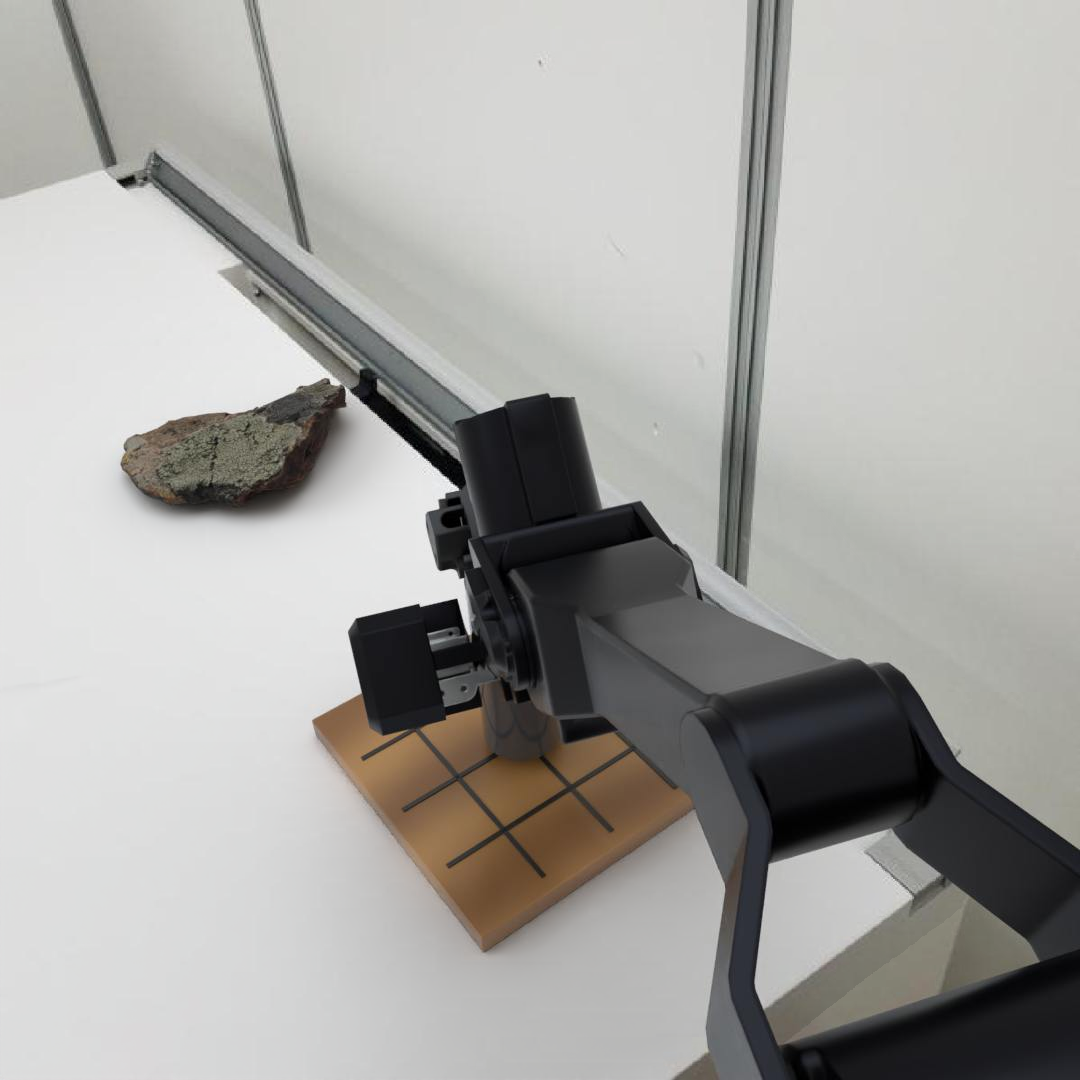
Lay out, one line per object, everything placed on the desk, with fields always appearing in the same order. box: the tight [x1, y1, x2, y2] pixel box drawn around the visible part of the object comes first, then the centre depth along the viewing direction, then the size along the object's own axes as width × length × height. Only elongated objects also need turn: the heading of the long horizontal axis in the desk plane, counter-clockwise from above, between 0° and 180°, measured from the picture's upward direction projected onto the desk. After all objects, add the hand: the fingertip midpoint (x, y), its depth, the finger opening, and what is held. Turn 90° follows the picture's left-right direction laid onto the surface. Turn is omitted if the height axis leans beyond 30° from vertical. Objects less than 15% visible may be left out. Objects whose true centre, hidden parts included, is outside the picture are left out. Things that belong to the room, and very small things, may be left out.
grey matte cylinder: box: [463, 578, 560, 761], centre depth 68 cm, size 5×5×13 cm
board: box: [311, 634, 695, 953], centre depth 74 cm, size 20×20×2 cm
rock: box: [119, 377, 348, 508], centre depth 99 cm, size 20×17×5 cm
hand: (510, 641), depth 69 cm, fingers closed on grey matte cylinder, 5 cm apart
